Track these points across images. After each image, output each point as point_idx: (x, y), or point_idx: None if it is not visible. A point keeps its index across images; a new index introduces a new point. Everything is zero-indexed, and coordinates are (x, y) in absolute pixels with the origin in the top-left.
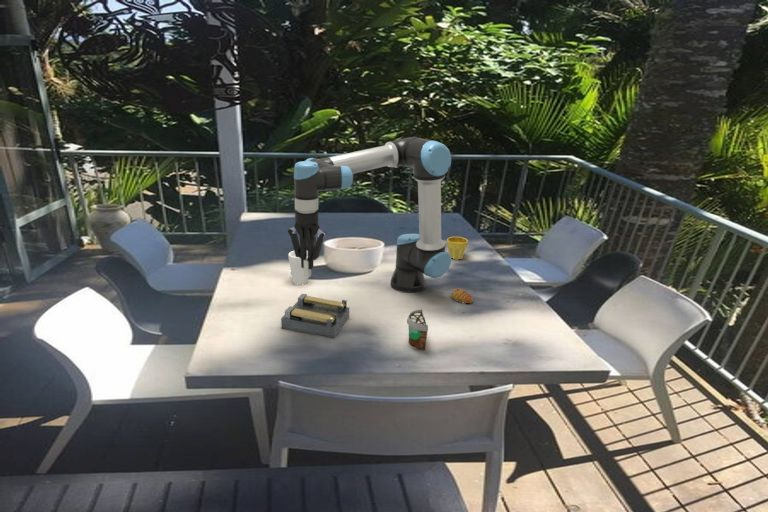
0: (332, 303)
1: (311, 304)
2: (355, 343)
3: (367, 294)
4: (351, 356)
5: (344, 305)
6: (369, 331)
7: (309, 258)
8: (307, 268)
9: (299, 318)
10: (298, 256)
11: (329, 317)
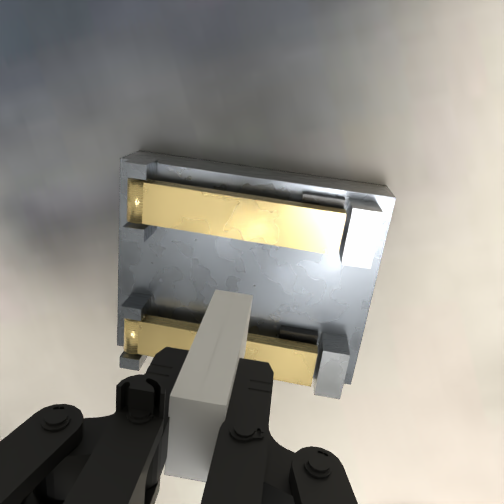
0: (175, 336)
1: (279, 335)
2: (44, 122)
3: None
4: (24, 10)
5: (124, 335)
6: (24, 227)
7: (135, 420)
8: (198, 340)
9: (301, 200)
10: (297, 454)
11: (147, 204)
